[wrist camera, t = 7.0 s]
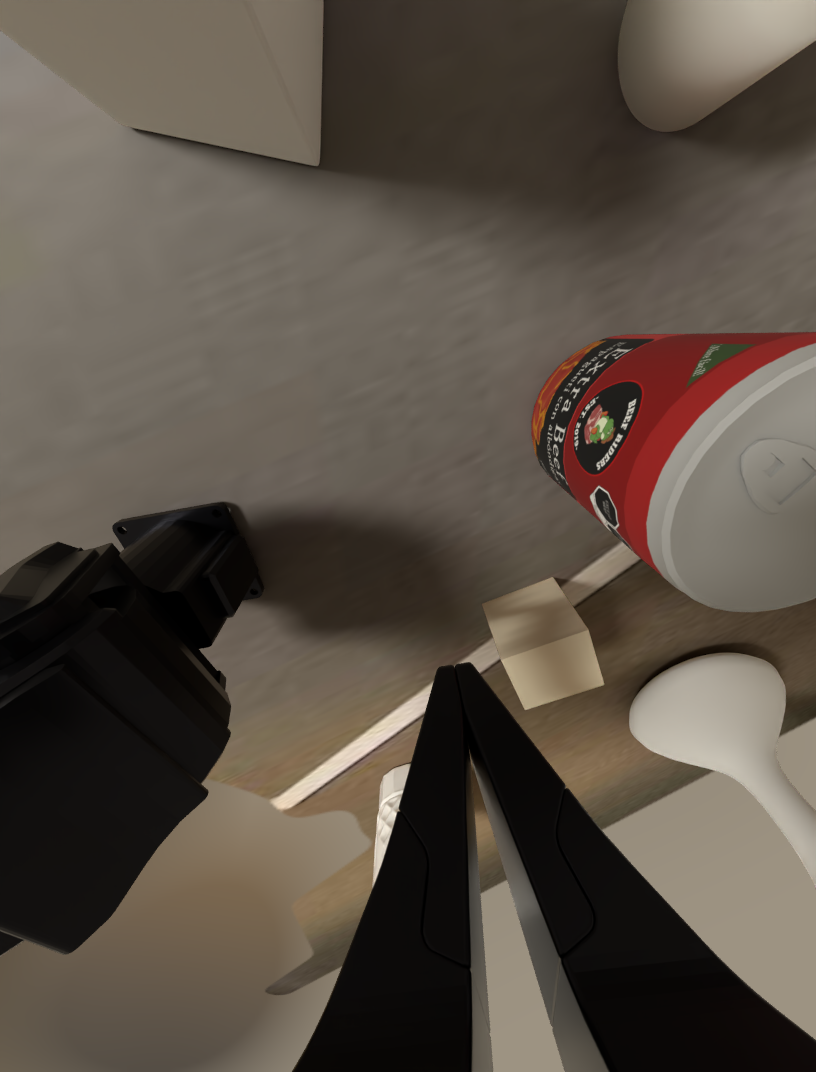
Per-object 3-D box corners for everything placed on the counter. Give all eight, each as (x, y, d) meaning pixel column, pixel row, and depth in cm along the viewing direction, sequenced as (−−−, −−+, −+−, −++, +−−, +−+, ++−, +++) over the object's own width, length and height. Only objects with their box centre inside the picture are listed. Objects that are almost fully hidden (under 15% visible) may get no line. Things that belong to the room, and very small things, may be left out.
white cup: (410, 747, 32) (417, 899, 24) (472, 775, 35) (500, 921, 26) (358, 787, 35) (348, 936, 26) (419, 810, 38) (428, 952, 29)
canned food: (566, 311, 17) (808, 278, 7) (709, 363, 18) (1076, 394, 8) (502, 467, 20) (604, 587, 11) (625, 501, 22) (816, 634, 12)
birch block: (503, 649, 27) (524, 710, 23) (481, 603, 25) (501, 660, 21) (568, 627, 26) (604, 684, 22) (552, 576, 24) (588, 629, 20)
